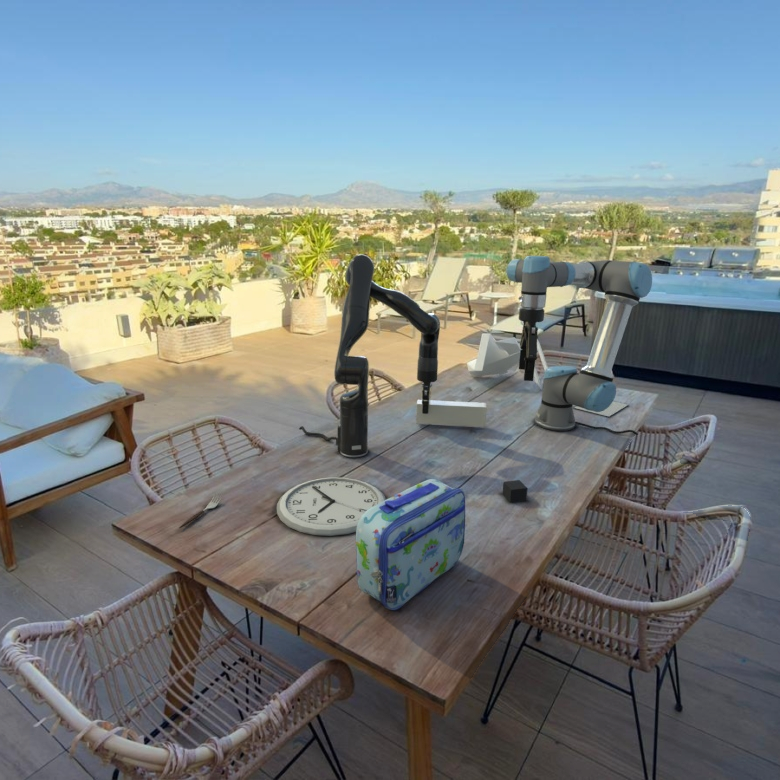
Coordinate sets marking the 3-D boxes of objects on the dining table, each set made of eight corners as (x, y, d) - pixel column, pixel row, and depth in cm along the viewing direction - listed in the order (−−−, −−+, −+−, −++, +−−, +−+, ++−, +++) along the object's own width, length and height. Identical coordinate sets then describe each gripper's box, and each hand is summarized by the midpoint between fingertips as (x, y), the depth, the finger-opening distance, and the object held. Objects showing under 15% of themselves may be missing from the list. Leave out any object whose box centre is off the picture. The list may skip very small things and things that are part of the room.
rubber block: (518, 492, 152) (519, 479, 150) (526, 500, 147) (527, 488, 146) (502, 494, 151) (503, 481, 149) (509, 502, 146) (511, 489, 145)
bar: (484, 422, 201) (485, 402, 199) (485, 427, 196) (486, 407, 194) (416, 419, 204) (417, 399, 201) (416, 423, 199) (416, 403, 196)
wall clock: (392, 527, 129) (268, 531, 127) (391, 533, 130) (269, 537, 127) (383, 473, 158) (282, 475, 155) (383, 478, 158) (282, 480, 156)
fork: (174, 529, 130) (174, 521, 130) (216, 499, 144) (215, 492, 144) (183, 531, 129) (182, 524, 129) (223, 501, 144) (223, 494, 143)
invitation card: (608, 416, 214) (573, 407, 224) (608, 416, 214) (573, 408, 224) (628, 404, 229) (594, 396, 238) (628, 405, 229) (594, 397, 238)
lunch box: (385, 624, 100) (387, 528, 94) (349, 596, 108) (348, 506, 101) (468, 566, 118) (474, 482, 112) (432, 545, 125) (436, 466, 119)
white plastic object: (487, 418, 267) (468, 395, 242) (469, 346, 289) (449, 318, 264) (558, 394, 255) (545, 368, 230) (533, 321, 277) (518, 289, 252)
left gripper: (418, 362, 202) (417, 404, 207) (416, 372, 188) (414, 416, 193) (438, 363, 201) (436, 405, 206) (437, 373, 187) (434, 418, 192)
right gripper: (515, 302, 172) (509, 364, 179) (524, 313, 149) (517, 385, 155) (538, 302, 171) (532, 365, 178) (551, 314, 148) (543, 386, 154)
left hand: (425, 410), depth 199 cm, fingers closed on bar, 5 cm apart
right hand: (525, 374), depth 166 cm, fingers open, 13 cm apart
